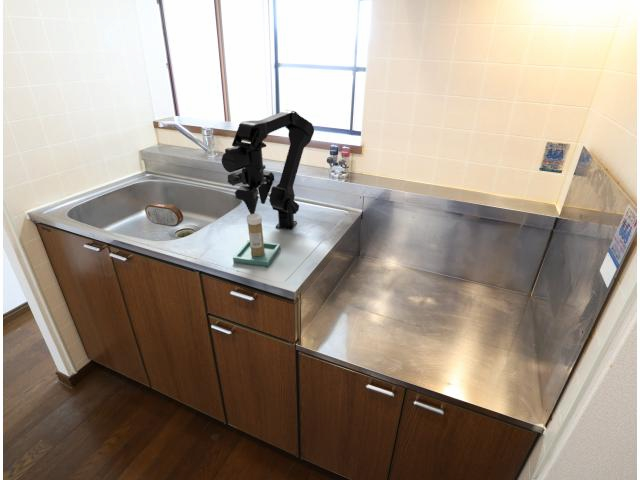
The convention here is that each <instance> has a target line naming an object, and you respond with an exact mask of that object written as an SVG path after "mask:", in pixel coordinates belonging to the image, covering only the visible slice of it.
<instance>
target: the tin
mask: <svg viewBox="0 0 640 480" xmlns="http://www.w3.org/2000/svg"><path fill="white" fill-rule="evenodd" d="M144 212H145V215H146V218H147V219H148V220H149V221H150V222H151V223H152V224H155V225H161V226H167V227H177V226H179V225H180V224H182V223H183V221H184V215H183V212H182V211H181V209H180V208H179V207H177V206H176V205H175V204H171V203H170V204H169V203H163V202H156V201H152V202H150V203H149V204H148V205H146V207H145V209H144Z"/></svg>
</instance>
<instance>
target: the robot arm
mask: <svg viewBox="0 0 640 480" xmlns="http://www.w3.org/2000/svg"><path fill="white" fill-rule="evenodd" d="M284 127H285V128H286V129H287V130H288V134H287V135H288V136H287V137H288V140H289V147H288V152H287V155H286V157H285V158H286V159H285V162H284V165H283V169H282V171H281V172H282V173H281V175H280V180H279V183H278V184H277V185H276V186H273V184H274V181H275V174H274V173H273V172H272V171H264V170H265V169H266V165H265V164H264V162H263V161H264V160H263V159H264V158H263V151H262V150H263V148H266V147H267V144H266V143H265V142H263V141H265V140H266V139H267V138H268V135H269V134H271V133H273V132H275V131H277V130H280V129H282V128H284ZM314 133H315V128H314V126H313V123H312V122H310V121H308V120H307V119H306V118H304V117H303V116H301V115H300V114H299V113H298V112H297V111H295V110H291V109H284V110H282V111H281V112H279V113H276V114H273V115H270V116H268V117H265V118H263V119H260V120H245V121H241V122H240V123H239V124H238V127H237V130H236V132H235V135H234V138H233V141H232V143H231V147H227V148H225V149H224V153H223V154H222V157H221V159H220V160H221V165H222V167H223V169H224V170H225V171H226V172H228V173H229V174H227V183H228V184H229V185H231V186H236V185H238V184H242V185H241V186H240V187H238V188H237V189H236V190H235V191H234V195H235V199H238V200H240V201H243V202H244V204H245V205H246V206H245V207H246V208H247V210H248V212H249V215H250V214H256V213H255V212H256V209H257V204H258V201H259V199H260V203H261V205H265V203H266V200H267V199H268V197H269V204H270V207H271V208H272V210H273V211H277V215H278V216H277V217H278V223H277V224H276V225H275V229H283V230H289V231H290V230H293V229H294V228H295V226H296V225H297V223H298V222H297V220H295V217H294V215H296V214H297V212H298V211H299V208H300V205H299V204H298V203H297V202H296V201H295V196H296V195H295V191H294V184H295V180H296V177H297V173H298V169H299V166H300V163H301V160H302V157H303V156H302V155H303V152H304V149H305V148H306V147H307V146H308V145H309V143H311V140H312V138H313V136H314ZM246 185H248V186H246Z"/></svg>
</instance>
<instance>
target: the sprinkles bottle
mask: <svg viewBox="0 0 640 480" xmlns="http://www.w3.org/2000/svg"><path fill="white" fill-rule="evenodd" d="M246 223H247V229H248V237H249V239H248V240H250V246H251V254H252V255H253V256H256V257H257V256H262V255H264V253H265V250H264V242H265V241H264V234H263V224H262V223H263V218H262V215H261V214H259V213H254V214H250V213H249V215H247V216H246Z"/></svg>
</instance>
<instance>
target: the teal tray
mask: <svg viewBox="0 0 640 480" xmlns="http://www.w3.org/2000/svg"><path fill="white" fill-rule="evenodd" d="M264 250H265V253H264V255H262V256H257V257H256V256H253V255H252V254H251V246H250V239H247V241H246V242H245V243H244V244H242V246H241V247H240V249H238V250H237V252H236V254H235V255H234V256H233V257H232V261H233V264H237V265H238V264H240V265H244V266H245V265H246V266H253V267H261V268H269V267H270V265H271V264H272V262H273V261H274V260H275V258H276V257H277V256H278V254H279V253H280V251H281V244H280V243H275V242H266V241H264Z"/></svg>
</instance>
